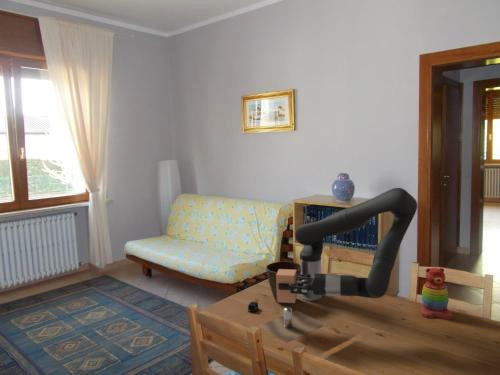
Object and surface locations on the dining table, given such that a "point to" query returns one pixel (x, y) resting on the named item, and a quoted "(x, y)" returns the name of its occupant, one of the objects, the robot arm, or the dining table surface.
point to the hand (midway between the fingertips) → (280, 282)
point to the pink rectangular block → (285, 277)
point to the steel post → (287, 317)
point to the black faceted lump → (252, 306)
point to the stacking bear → (435, 295)
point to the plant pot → (272, 272)
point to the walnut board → (299, 326)
